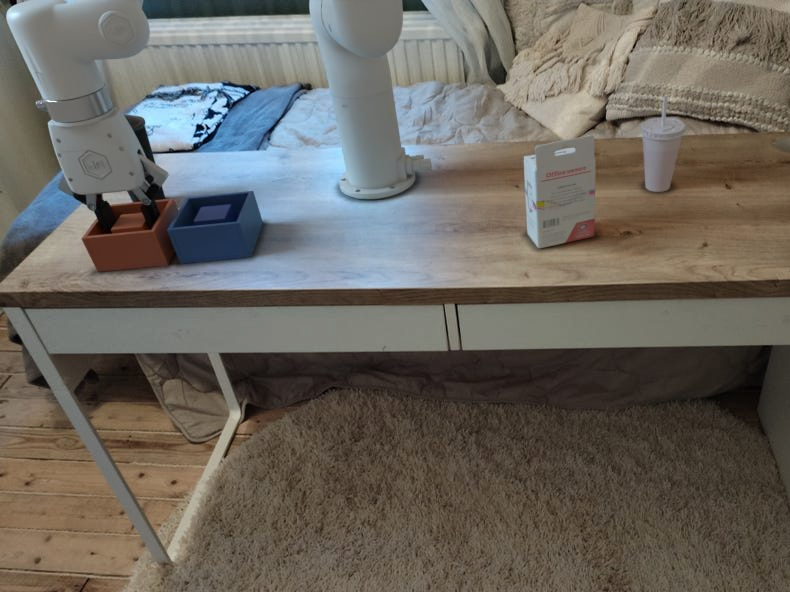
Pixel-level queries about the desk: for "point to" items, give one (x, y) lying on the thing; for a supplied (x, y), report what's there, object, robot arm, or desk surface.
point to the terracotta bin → (132, 240)
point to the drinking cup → (141, 134)
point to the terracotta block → (130, 223)
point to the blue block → (215, 215)
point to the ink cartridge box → (560, 191)
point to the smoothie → (661, 149)
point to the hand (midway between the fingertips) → (134, 227)
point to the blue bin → (216, 229)
